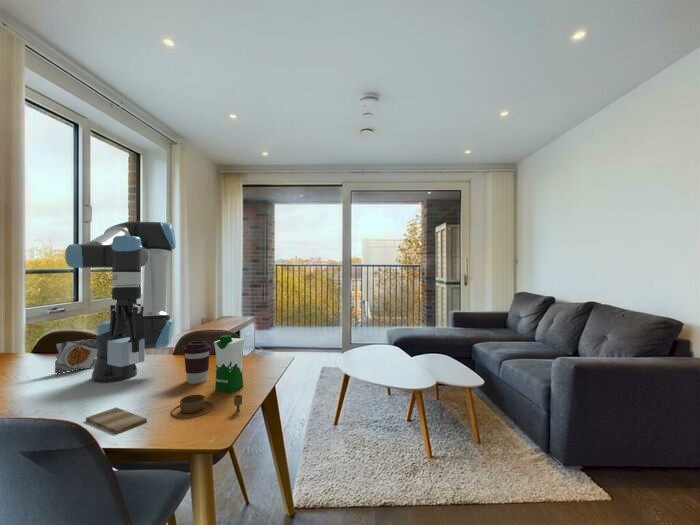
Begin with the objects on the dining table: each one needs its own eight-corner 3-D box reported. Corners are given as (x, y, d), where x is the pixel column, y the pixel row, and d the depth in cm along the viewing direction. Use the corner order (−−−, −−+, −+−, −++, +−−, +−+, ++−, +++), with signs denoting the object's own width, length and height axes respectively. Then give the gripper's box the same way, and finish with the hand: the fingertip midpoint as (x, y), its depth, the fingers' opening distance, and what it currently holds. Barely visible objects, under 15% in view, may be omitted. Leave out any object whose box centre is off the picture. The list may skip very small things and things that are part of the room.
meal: (57, 377, 140) (57, 344, 140) (54, 374, 143) (54, 343, 143) (101, 368, 152) (101, 338, 152) (98, 366, 154) (98, 337, 154)
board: (86, 423, 99) (86, 417, 99) (116, 413, 106) (116, 407, 106) (116, 437, 91) (116, 430, 91) (146, 424, 98) (146, 418, 98)
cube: (107, 364, 104) (107, 340, 104) (131, 358, 110) (131, 336, 110) (120, 366, 101) (120, 342, 101) (144, 361, 107) (144, 338, 107)
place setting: (206, 400, 118) (206, 382, 118) (246, 414, 107) (246, 395, 107) (154, 420, 103) (154, 400, 103) (194, 438, 92) (194, 416, 92)
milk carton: (211, 392, 123) (211, 336, 123) (227, 383, 132) (227, 331, 132) (231, 395, 120) (231, 338, 120) (247, 386, 129) (247, 333, 129)
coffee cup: (200, 386, 129) (200, 346, 129) (177, 384, 131) (177, 345, 131) (216, 377, 139) (216, 340, 139) (194, 376, 141) (194, 339, 141)
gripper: (95, 286, 107) (95, 360, 107) (132, 287, 98) (132, 368, 97) (121, 285, 114) (120, 355, 113) (158, 286, 105) (158, 362, 104)
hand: (126, 361), depth 105 cm, fingers closed on cube, 7 cm apart
